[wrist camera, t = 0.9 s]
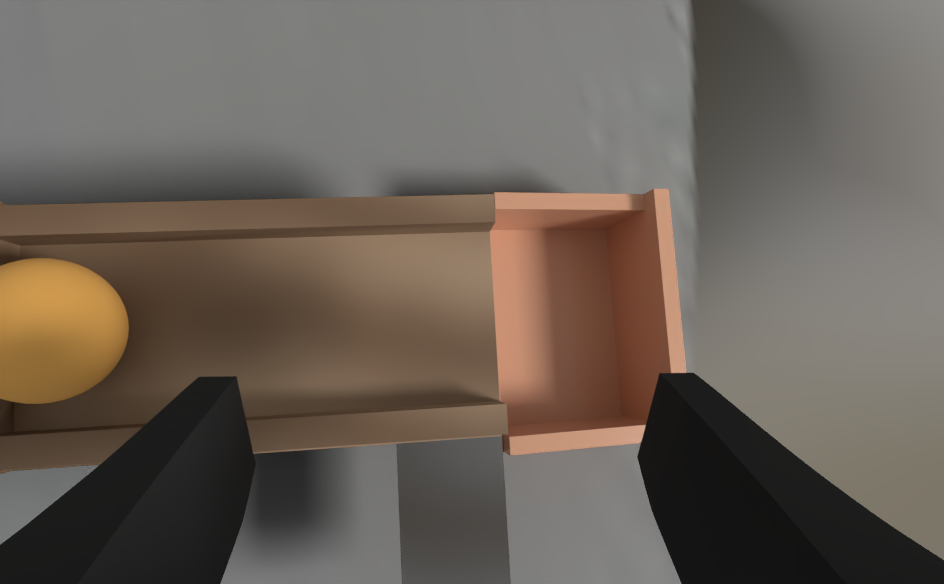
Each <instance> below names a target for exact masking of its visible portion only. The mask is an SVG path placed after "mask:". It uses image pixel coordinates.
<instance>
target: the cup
mask: <svg viewBox="0 0 944 584" xmlns="http://www.w3.org/2000/svg"><path fill="white" fill-rule="evenodd" d="M493 194H494V204H495V221H496V222H495V224H494V225H493V227H492V229H491V230H490V246H491V263H492V280H493V297H494V313H495V330H496V347H497V364H498V381H499V397H500V401H501V402H504V403H506V404H507V418H508V434H504V435H502V448H503V452H505V453H507V454H509V455H520V454H530V453H540V452H551V451H561V450H571V449H582V448H592V447H602V446H613V445H623V444H633V443H641V441H642V438H643V434H644V430H645V426H646V422H647V419H648V415H649V411H650V407H651V403H652V399H653V396H654V392H655V388H656V384H657V380H658V377H659V373H686V363H685V353H684V343H683V332H682V322H681V312H680V302H679V291H678V281H677V271H676V261H675V250H674V240H673V230H672V220H671V209H670V199H669V189H653V190H651V191H649V192H647V193H645V194H580V193H511V192H494V193H493Z"/></svg>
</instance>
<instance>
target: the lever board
mask: <svg viewBox="0 0 944 584" xmlns="http://www.w3.org/2000/svg"><path fill="white" fill-rule="evenodd" d="M495 222H496V221H495V204H494V194H478V195H433V196H389V197H344V198H300V199H255V200H211V201H166V202H122V203H77V204H33V205H7V204H5V203H2V202H0V266H1V265H4V264H7V263H10V262H14V261H19V260H23V259H32V258H51V259H58V260H65V261H69V262H72V263H75V264H78V265H81V266H83V267H86V268H88V269H90V270H91V271H93V272H95V273H96V274H98V275H100V276H101V277H102V278H103V279H105V280H106V281H107V282H108V283H109V284H110V285H111V286H112V287H113V288H114V289H115V290H116V292H117V293H118V295H119V296H120V298H121V300H122V302H123V304H124V306H125V309H126V312H127V316H128V322H129V333H128V340H127V345H126V347H125V350H124V353H123V355H122V357H121V359H120V360H119V362H118V363H117V365H116V366H115V368H114V369H113V370H112V371H111V372H110V373H109V375H108V376H106V377H105V378H104V379H103V380H102V381H101V382H99V383H98V384H97V385H95V386H94V387H92V388H91V389H89V390H87V391H85V392H83V393H81V394H79V395H76V396H74V397H71V398H69V399H65V400H61V401H57V402H52V403H44V404H24V403H18V402H11V401H7V400H4V399H0V474H2V473H6V472H10V471H17V470H31V469H46V468H60V467H74V466H88V465H100V464H101V463H103V462H104V461H105V460H106V459H107V458H108V457H109V456H111V455H112V454H113V453H114V452H115V451H116V450H117V449H119V448H120V447H121V446H122V445H123V444H124V443H125V442H126V441H128V440H129V439H130V438H131V437H132V436H133V435H134V434H136V433H137V432H138V431H139V430H140V429H141V428H142V427H143V426H144V425H146V424H147V423H148V422H149V421H150V420H151V419H152V418H153V417H154V416H156V415H157V414H158V413H159V412H160V411H161V410H162V409H163V408H164V407H165V406H167V405H168V404H169V403H170V402H171V401H172V400H173V399H174V398H175V397H176V396H178V395H179V394H180V393H181V392H182V391H183V390H184V389H185V388H186V387H188V386H189V385H190V384H191V383H192V382H193V381H194V380H196V379H197V378H198V377H222V376H237V381H238V385H239V390H240V394H241V399H242V404H243V408H244V413H245V417H246V422H247V427H248V431H249V436H250V440H251V445H252V450H253V454H257V453H271V452H285V451H299V450H313V449H327V448H342V447H356V446H370V445H384V444H397V465H398V491H399V517H400V543H401V569H402V584H511V582H510V565H509V548H508V532H507V515H506V498H505V481H504V464H503V448H502V435H504V434H508V418H507V404H506V403H504V402H501V401H500V397H499V381H498V364H497V347H496V330H495V313H494V297H493V280H492V263H491V246H490V230H491V229H492V227H493V225H494V224H495Z"/></svg>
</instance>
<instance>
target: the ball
mask: <svg viewBox="0 0 944 584" xmlns="http://www.w3.org/2000/svg"><path fill="white" fill-rule="evenodd" d="M128 333H129V322H128V316H127V312H126V309H125V306H124V304H123V302H122V300H121V298H120V296H119V295H118V293H117V292H116V290H115V289H114V288H113V287H112V286H111V285H110V284H109V283H108V282H107V281H106V280H105V279H103V278H102V277H101V276H100V275H98V274H96V273H95V272H93V271H91V270H90V269H88V268H86V267H83V266H81V265H78V264H75V263H72V262H69V261H65V260H58V259H51V258H32V259H23V260H19V261H14V262H10V263H7V264H4V265H1V266H0V399H4V400H7V401H11V402H18V403H24V404H44V403H52V402H57V401H61V400H65V399H69V398H71V397H74V396H76V395H79V394H81V393H83V392H85V391H87V390H89V389H91V388H92V387H94V386H95V385H97V384H98V383H99V382H101V381H102V380H103V379H104V378H105V377H106V376H108V375H109V373H110V372H111V371H112V370H113V369H114V368H115V366H116V365H117V363H118V362H119V360H120V359H121V357H122V355H123V353H124V350H125V347H126V345H127V340H128Z"/></svg>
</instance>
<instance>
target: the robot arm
mask: <svg viewBox="0 0 944 584" xmlns="http://www.w3.org/2000/svg"><path fill="white" fill-rule="evenodd" d="M638 461H639V465H640V469H641V473H642V476H643V480H644V484H645V488H646V491H647V495H648V498H649V502H650V505H651V509H652V512H653V515H654V517H655V520H656V522H657V525H658V527H659V530H660V532H661V535H662V537H663V539H664V542H665V544H666V547H667V549H668V552H669V554H670V557H671V559H672V561H673V564H674V566H675V569H676V571H677V574H678V576H679V578H680V581H681V583H682V584H944V560H942V559H941V558H939V557H938V556H936V555H935V554H933V553H932V552H930V551H929V550H927V549H925V548H924V547H922V546H921V545H919V544H918V543H916V542H915V541H913V540H912V539H910V538H909V537H907V536H905V535H904V534H902V533H901V532H899V531H898V530H896V529H895V528H893V527H892V526H890V525H889V524H888V523H886V522H885V521H883V520H882V519H880V518H879V517H877V516H876V515H874V514H873V513H871V512H870V511H869V510H867V509H866V508H865V507H863V506H862V505H861V504H859V503H858V502H856V501H855V500H854V499H852V498H851V497H849V496H848V495H847V494H845V493H844V492H843V491H841V490H840V489H839V488H837V487H836V486H835V485H833V484H831V483H830V482H829V481H828V480H827V479H825V478H824V477H822V476H821V475H820V474H819V473H817V472H816V471H815V470H813V469H812V468H811V467H810V466H808V465H807V464H805V463H804V462H803V461H802V460H801V459H799V458H798V457H797V456H795V455H794V454H793V453H792V452H790V451H789V450H788V449H787V448H785V447H784V446H783V445H782V444H780V443H779V442H778V441H777V440H776V439H774V438H773V437H772V436H770V435H769V434H768V433H767V432H766V431H764V430H763V429H762V428H761V427H760V426H758V425H757V424H756V423H755V422H754V421H752V420H751V419H750V418H749V417H748V416H746V415H745V414H744V413H743V412H741V411H740V410H739V409H738V408H737V407H735V406H734V405H733V404H732V403H731V402H729V401H728V400H727V399H726V398H724V397H723V396H722V395H721V394H720V393H718V392H717V391H716V390H715V389H713V388H712V387H711V386H710V385H709V384H707V383H706V382H705V381H704V380H702V379H701V378H700V377H698V376H697V375H696V374H694V373H659V377H658V380H657V384H656V388H655V392H654V396H653V399H652V403H651V407H650V411H649V415H648V419H647V422H646V426H645V430H644V434H643V438H642V441H641V445H640V449H639V453H638ZM255 465H256V463H255V459H254V454H253V450H252V445H251V440H250V436H249V431H248V427H247V422H246V417H245V413H244V408H243V404H242V399H241V394H240V390H239V385H238V381H237V376H222V377H198V378H197V379H196V380H194V381H193V382H192V383H191V384H190V385H189V386H188V387H186V388H185V389H184V390H183V391H182V392H181V393H180V394H179V395H178V396H176V397H175V398H174V399H173V400H172V401H171V402H170V403H169V404H168V405H167V406H165V407H164V408H163V409H162V410H161V411H160V412H159V413H158V414H157V415H156V416H154V417H153V418H152V419H151V420H150V421H149V422H148V423H147V424H146V425H144V426H143V427H142V428H141V429H140V430H139V431H138V432H137V433H136V434H134V435H133V436H132V437H131V438H130V439H129V440H128V441H126V442H125V443H124V444H123V445H122V446H121V447H120V448H119V449H117V450H116V451H115V452H114V453H113V454H112V455H111V456H109V457H108V458H107V459H106V460H105V461H104V462H103V463H101V464H100V465H99V466H98V467H97V468H96V469H95V470H93V471H92V472H91V473H90V474H89V475H87V476H86V477H85V478H84V479H82V480H81V481H80V482H79V483H78V484H76V485H75V486H74V487H73V488H71V489H70V490H69V491H68V492H66V493H65V494H64V495H63V496H62V497H60V498H59V499H58V500H57V501H55V502H54V503H53V504H52V505H50V506H49V507H48V508H47V509H46V510H44V511H43V512H42V513H41V514H39V515H38V516H37V517H36V518H34V519H33V520H32V521H31V522H30V523H28V524H27V525H26V526H24V527H23V528H22V529H21V530H19V531H18V532H17V533H15V534H14V535H13V536H11V537H10V538H9V539H7V540H6V541H5V542H3V543H2V544H1V545H0V584H220V583H221V580H222V577H223V575H224V572H225V569H226V566H227V564H228V561H229V558H230V555H231V552H232V550H233V547H234V544H235V541H236V538H237V536H238V533H239V530H240V527H241V524H242V521H243V517H244V513H245V509H246V505H247V501H248V496H249V492H250V487H251V483H252V478H253V474H254V469H255Z"/></svg>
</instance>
